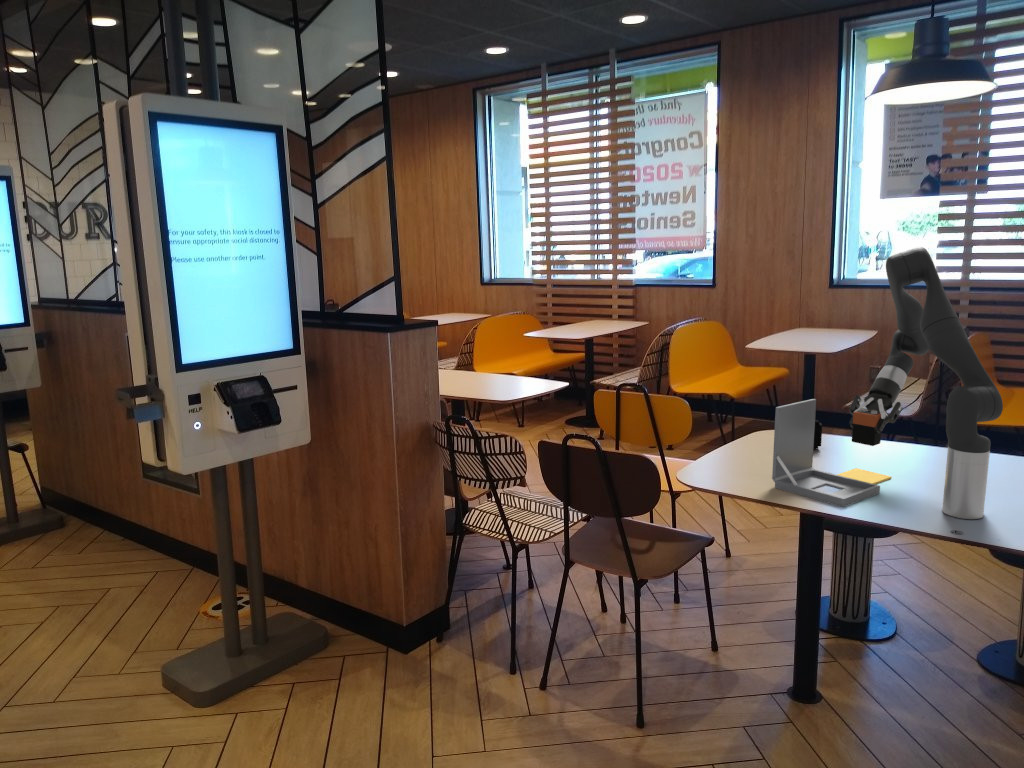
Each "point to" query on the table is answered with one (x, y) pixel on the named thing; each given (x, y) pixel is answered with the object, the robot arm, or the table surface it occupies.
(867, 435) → the battery
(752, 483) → the table surface
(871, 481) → the yellow sticky note
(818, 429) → the cpu cooler
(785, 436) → the equipment case
